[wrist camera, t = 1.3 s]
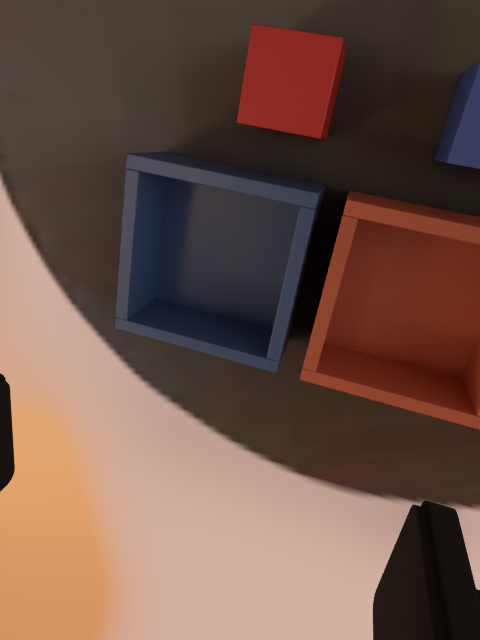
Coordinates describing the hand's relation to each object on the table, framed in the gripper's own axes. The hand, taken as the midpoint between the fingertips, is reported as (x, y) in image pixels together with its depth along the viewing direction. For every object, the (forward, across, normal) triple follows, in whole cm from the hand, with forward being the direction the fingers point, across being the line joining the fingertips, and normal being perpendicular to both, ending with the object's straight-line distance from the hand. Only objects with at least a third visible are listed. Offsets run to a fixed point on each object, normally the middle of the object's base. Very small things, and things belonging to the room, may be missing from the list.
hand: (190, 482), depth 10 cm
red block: (+22, +2, -9) cm, 24 cm away
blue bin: (+21, +5, +1) cm, 22 cm away
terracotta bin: (+21, -7, +1) cm, 23 cm away
